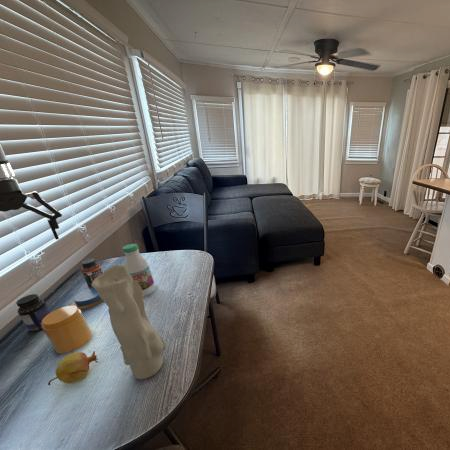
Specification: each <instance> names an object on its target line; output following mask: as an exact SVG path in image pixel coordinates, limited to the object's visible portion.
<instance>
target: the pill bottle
mask: <svg viewBox="0 0 450 450" xmlns="http://www.w3.org/2000/svg"><path fill="white" fill-rule="evenodd" d="M15 304H16V306H17V307H18V309H17V314H18V316H19V317H20V319H21V320H22V322H23V323H24V325H25V326H26V328H27V330H28V331H29V332H31V333H35V332H39V331H42V330H43V328H42V320H43V318H44V317H45V316H47V315H48V314H49V313H51V312H52V311H51V310H50V308H49V307H48V304H47V302H46V301H45V300H44V299H40V297H39V295H38V294H37V293H32V294H28V295H25V296H22V297H21V298H18V300H17V301H16V302H15Z"/></svg>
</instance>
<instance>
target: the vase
mask: <svg viewBox="0 0 450 450" xmlns="http://www.w3.org/2000/svg"><path fill="white" fill-rule="evenodd" d="M92 287H93V288H94V289H95V290H96V291H97V293H98V294H99V296H100V297H101V299H102V300H103V302H104V303H105V304H106V306H107V307H108V314H109V318H110V319H109V320H110V325H111V328H112V331H113V333H114V335H115V337H116V339H117V341H118V343H119V345H120V347H119V348H120V351H121V353H122V358H123V363H124V365H125V366H129V367H130V371H131V373H132V375H133V377H134V378H135V379H137V380H146V379H149V378H151V377H153V376H155V375H156V374H157V373H158V372H159V371H160V370H161V369H162V367H163V363H164V358H163V352H164V351H165V350H166V348H167V344H166V342H165V340H164V339H163V337H162V336H161V334H159V332H158V330H156V328H155V326H153V325H152V323H151V321H150V320H149V317H148V315H147V313H146V310H145V300H144V296H143V291H142V288H141V287H140V285H139V283H138V282H137V280H135V281H134V280H133V278H132V276H131V275H129V273H128V269H127V267H126V266H124V264H115V265H112V266H111V267H109V268H107V269H105V270H104V271H103V274H101V275H100V276H98V277H97V278H95V279H94V280H93V282H92Z"/></svg>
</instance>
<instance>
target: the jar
mask: <svg viewBox="0 0 450 450" xmlns="http://www.w3.org/2000/svg"><path fill="white" fill-rule="evenodd" d="M50 312H51V313H49V314H48V315H47V316H45V317H44V318H43V320H42V328H43V329H42V330H43V332H44V334H45V335H46V337H47V339H48V340H49V343H50V344H51V346H52V348H53V349H54V351H55V352H56V353H57V354H67V353H71V352H73V351H76V350H78V349H79V348H81V347H83V346H84V345H85V344H86V343H88V342H89V340H90V339H91V338H92V336H93V333H92V331H91V328H90V326H89V325H88V323H87V322H88V321H87V320H86V318H85V316H84V313H83V312H82V309H81V310H80V309H78V308H77V307H76V306H71V305H66V306H63V307H59V308H57V309H55V310H53V311H50Z"/></svg>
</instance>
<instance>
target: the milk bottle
mask: <svg viewBox="0 0 450 450" xmlns="http://www.w3.org/2000/svg"><path fill="white" fill-rule="evenodd" d="M122 252H123V254H124V255H125V258H124V259H125V260H124V263H123V265H124V266H126V267H127V269H128V273H129V275H131V276H132V278H133V280H134V281H135V280H137V282H138V283H139V285H140V287H141V288H142V291H143V297H145V296H148V295H150V294H151V293H153V292H154V291H155V290H156V284H155V280H154V277H153V275H152V270H151V268H150V266H149V262H148V260H147V259H146V258H145V256H143V255H142V254H141V253H140V251H139V246H138V244H137V243H130V244H126V245H125V246H123V247H122Z"/></svg>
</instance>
